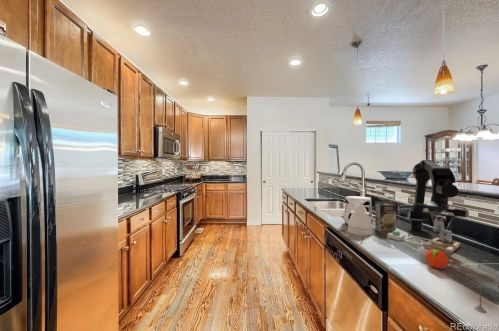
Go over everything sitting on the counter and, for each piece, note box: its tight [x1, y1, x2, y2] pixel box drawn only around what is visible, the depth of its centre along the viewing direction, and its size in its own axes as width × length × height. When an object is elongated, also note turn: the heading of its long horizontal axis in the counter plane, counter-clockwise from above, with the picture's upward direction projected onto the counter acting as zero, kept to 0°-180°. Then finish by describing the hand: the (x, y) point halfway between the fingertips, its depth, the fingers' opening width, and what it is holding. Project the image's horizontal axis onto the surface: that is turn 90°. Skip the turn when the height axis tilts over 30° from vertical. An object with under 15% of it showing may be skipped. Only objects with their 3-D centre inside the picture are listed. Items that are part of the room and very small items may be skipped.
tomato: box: [425, 249, 449, 269], centre depth 87 cm, size 8×7×7 cm
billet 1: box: [432, 214, 446, 234], centre depth 105 cm, size 5×5×7 cm
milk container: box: [343, 195, 374, 225], centre depth 148 cm, size 17×17×18 cm
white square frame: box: [387, 232, 406, 242], centre depth 120 cm, size 6×6×3 cm
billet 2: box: [438, 229, 453, 245], centre depth 110 cm, size 5×5×7 cm
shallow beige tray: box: [423, 237, 461, 255], centre depth 107 cm, size 17×9×3 cm, turn 126°
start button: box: [393, 230, 401, 236], centre depth 120 cm, size 3×3×2 cm
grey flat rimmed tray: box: [401, 235, 432, 247], centre depth 116 cm, size 13×9×1 cm
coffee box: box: [374, 202, 397, 233], centre depth 136 cm, size 9×6×16 cm
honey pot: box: [347, 201, 373, 237], centre depth 132 cm, size 13×13×18 cm
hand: (439, 228), depth 105 cm, fingers closed on billet 1, 5 cm apart
